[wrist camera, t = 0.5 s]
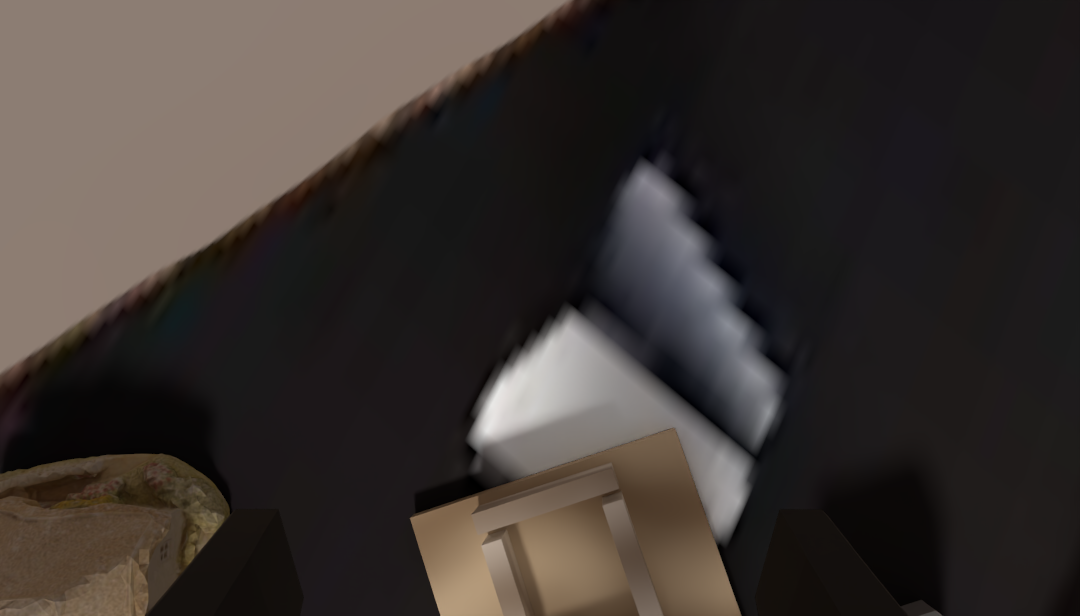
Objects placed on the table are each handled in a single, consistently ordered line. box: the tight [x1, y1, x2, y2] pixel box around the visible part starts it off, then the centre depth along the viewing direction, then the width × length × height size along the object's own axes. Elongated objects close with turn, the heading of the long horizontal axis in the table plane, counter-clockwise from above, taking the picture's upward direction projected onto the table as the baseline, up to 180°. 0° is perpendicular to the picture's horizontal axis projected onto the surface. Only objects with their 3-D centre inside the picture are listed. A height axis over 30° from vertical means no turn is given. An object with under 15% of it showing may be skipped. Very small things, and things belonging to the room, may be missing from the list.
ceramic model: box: [0, 453, 230, 616], centre depth 33 cm, size 14×11×10 cm
